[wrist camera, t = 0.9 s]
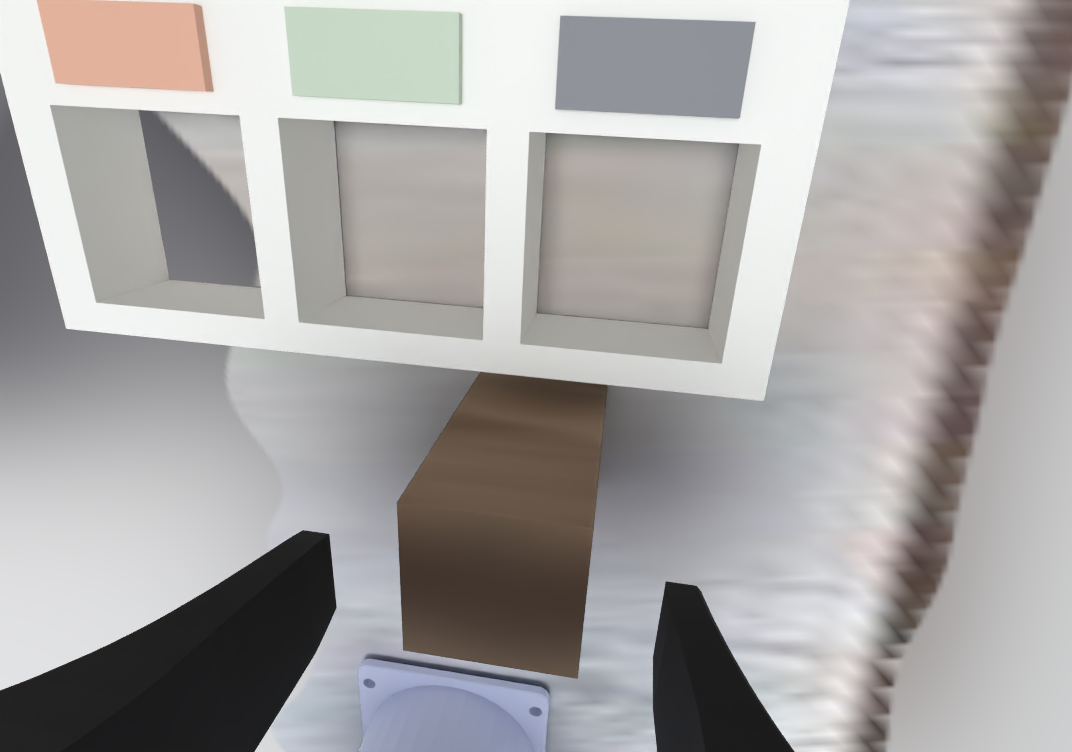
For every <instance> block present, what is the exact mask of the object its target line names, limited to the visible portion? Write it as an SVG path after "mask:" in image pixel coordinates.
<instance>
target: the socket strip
mask: <svg viewBox="0 0 1072 752" xmlns="http://www.w3.org/2000/svg"><path fill="white" fill-rule="evenodd" d="M849 1H850V0H0V73H1V77H2V81H3V85H4V88H5V92H6V96H7V100H8V104H9V108H10V112H11V115H12V119H13V123H14V127H15V131H16V135H17V139H18V143H19V147H20V150H21V154H22V158H23V162H24V166H25V170H26V173H27V178H28V182H29V185H30V189H31V193H32V197H33V201H34V205H35V209H36V213H37V216H38V220H39V224H40V228H41V232H42V236H43V240H44V244H45V248H46V252H47V255H48V259H49V263H50V267H51V271H52V275H53V279H54V282H55V286H56V290H57V294H58V298H59V302H60V305H61V310H62V314H63V317H64V321H65V325H66V328H67V329H76V330H85V331H95V332H104V333H114V334H124V335H133V336H143V337H153V338H162V339H172V340H182V341H192V342H201V343H211V344H220V345H229V346H239V347H249V348H258V349H268V350H277V351H287V352H297V353H306V354H316V355H326V356H335V357H345V358H354V359H364V360H374V361H383V362H393V363H402V364H412V365H422V366H431V367H441V368H450V369H460V370H470V371H479V372H489V373H499V374H508V375H518V376H527V377H537V378H547V379H556V380H566V381H575V382H585V383H595V384H604V385H614V386H624V387H633V388H643V389H652V390H662V391H672V392H681V393H691V394H700V395H710V396H720V397H729V398H739V399H749V400H758V401H764V397H765V392H766V388H767V383H768V378H769V374H770V369H771V365H772V360H773V355H774V351H775V346H776V341H777V337H778V332H779V327H780V323H781V318H782V313H783V309H784V304H785V299H786V295H787V290H788V285H789V281H790V276H791V271H792V267H793V262H794V257H795V253H796V248H797V244H798V239H799V234H800V230H801V225H802V220H803V216H804V211H805V206H806V202H807V197H808V192H809V188H810V183H811V178H812V174H813V169H814V164H815V160H816V155H817V150H818V146H819V141H820V136H821V132H822V127H823V122H824V118H825V113H826V109H827V104H828V99H829V95H830V90H831V85H832V81H833V76H834V71H835V67H836V62H837V57H838V53H839V48H840V43H841V39H842V34H843V29H844V25H845V20H846V15H847V11H848V6H849ZM139 110H151V111H169V112H187V113H204V114H222V115H239V116H240V124H241V132H242V140H243V148H244V156H245V164H246V172H247V180H248V188H249V196H250V204H251V212H252V220H253V228H254V236H255V244H256V252H257V260H258V268H259V276H260V284H261V288H256V287H245V286H234V285H223V284H213V283H202V282H190V281H180V280H170V279H169V274H168V268H167V262H166V257H165V251H164V246H163V241H162V235H161V230H160V224H159V219H158V213H157V208H156V203H155V197H154V191H153V186H152V181H151V175H150V170H149V164H148V159H147V153H146V148H145V143H144V137H143V132H142V126H141V120H140V115H139ZM334 121H348V122H366V123H383V124H401V125H419V126H437V127H455V128H473V129H487V155H486V208H485V262H484V308H475V307H464V306H453V305H442V304H431V303H420V302H410V301H399V300H388V299H377V298H366V297H355V296H346V285H345V271H344V256H343V242H342V228H341V214H340V200H339V186H338V171H337V157H336V143H335V129H334ZM546 133H562V134H580V135H598V136H616V137H634V138H652V139H670V140H688V141H706V142H724V143H739V147H738V153H737V159H736V165H735V171H734V177H733V183H732V188H731V194H730V200H729V206H728V212H727V218H726V224H725V230H724V236H723V242H722V248H721V254H720V260H719V266H718V272H717V278H716V284H715V290H714V296H713V302H712V308H711V314H710V320H709V326H708V329H705V328H694V327H683V326H672V325H661V324H650V323H639V322H628V321H617V320H607V319H596V318H585V317H574V316H563V315H552V314H541V313H537V296H538V277H539V259H540V240H541V221H542V203H543V184H544V165H545V147H546Z"/></svg>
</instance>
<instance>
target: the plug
mask: <svg viewBox="0 0 1072 752" xmlns="http://www.w3.org/2000/svg"><path fill="white" fill-rule="evenodd" d="M606 396H607V385H604V384H595V383H585V382H575V381H566V380H556V379H547V378H537V377H527V376H518V375H508V374H499V373H489V372H480V373H479V375H478V377H477V378H476V380H475V381H474V383H473V384H472V386H471V388H470V389H469V391H468V392H467V394H466V395H465V397H464V399H463V400H462V402H461V403H460V405H459V406H458V408H457V409H456V411H455V413H454V414H453V416H452V417H451V419H450V420H449V422H448V424H447V425H446V427H445V428H444V430H443V431H442V433H441V434H440V436H439V438H438V439H437V441H436V442H435V444H434V445H433V447H432V449H431V450H430V452H429V453H428V455H427V456H426V458H425V459H424V461H423V463H422V464H421V466H420V467H419V469H418V470H417V472H416V474H415V475H414V477H413V478H412V480H411V481H410V483H409V484H408V486H407V488H406V489H405V491H404V492H403V494H402V495H401V497H400V499H399V500H398V502H397V516H398V539H399V562H400V585H401V608H402V631H403V650H404V651H411V652H417V653H423V654H429V655H435V656H441V657H448V658H454V659H460V660H466V661H472V662H478V663H485V664H491V665H497V666H503V667H509V668H515V669H522V670H528V671H534V672H540V673H546V674H552V675H558V676H565V677H571V678H577V679H578V670H579V661H580V651H581V642H582V633H583V623H584V614H585V604H586V595H587V585H588V576H589V566H590V557H591V547H592V538H593V529H594V518H595V508H596V498H597V488H598V477H599V467H600V457H601V447H602V437H603V426H604V416H605V406H606Z"/></svg>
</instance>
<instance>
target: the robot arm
mask: <svg viewBox="0 0 1072 752" xmlns="http://www.w3.org/2000/svg"><path fill="white" fill-rule="evenodd" d="M335 610H336V598H335V588H334V578H333V568H332V558H331V547H330V537H329V534H325V533H318V532H311V531H304V530H303V531H301V532H299V533H297V534H296V535H294V536H292V537H291V538H289V539H288V540H286V541H285V542H283V543H281V544H280V545H278V546H277V547H275V548H274V549H272V550H271V551H269V552H268V553H266V554H264V555H263V556H261V557H260V558H258V559H257V560H255V561H254V562H252V563H251V564H249V565H248V566H246V567H244V568H243V569H241V570H240V571H238V572H236V573H235V574H233V575H232V576H230V577H229V578H227V579H225V580H224V581H222V582H221V583H219V584H218V585H216V586H214V587H213V588H211V589H209V590H208V591H206V592H204V593H203V594H201V595H199V596H197V597H196V598H194V599H192V600H191V601H189V602H187V603H186V604H184V605H182V606H180V607H179V608H177V609H176V610H174V611H172V612H171V613H168V614H167V615H165V616H163V617H161V618H160V619H158V620H156V621H154V622H152V623H150V624H148V625H147V626H145V627H143V628H141V629H139V630H137V631H135V632H133V633H131V634H129V635H127V636H125V637H123V638H121V639H119V640H117V641H115V642H113V643H111V644H109V645H107V646H105V647H103V648H101V649H98V650H96V651H94V652H92V653H90V654H87V655H85V656H83V657H80V658H78V659H76V660H74V661H71V662H69V663H67V664H65V665H62V666H60V667H57V668H55V669H53V670H50V671H48V672H46V673H43V674H41V675H39V676H37V677H34V678H32V679H29V680H26V681H24V682H21V683H19V684H16V685H14V686H11V687H9V688H6V689H3V690H0V752H254V751H255V750H256V748H257V746H258V745H259V743H260V742H261V740H262V738H263V737H264V735H265V734H266V732H267V731H268V729H269V727H270V726H271V724H272V723H273V721H274V719H275V718H276V716H277V715H278V713H279V711H280V710H281V708H282V707H283V705H284V703H285V702H286V700H287V699H288V697H289V695H290V694H291V692H292V691H293V689H294V687H295V686H296V684H297V682H298V681H299V679H300V678H301V676H302V674H303V673H304V671H305V669H306V668H307V666H308V665H309V663H310V661H311V660H312V658H313V656H314V655H315V653H316V651H317V649H318V647H319V645H320V643H321V641H322V638H323V636H324V634H325V632H326V630H327V628H328V625H329V623H330V621H331V619H332V616H333V614H334V612H335ZM358 682H359V694H360V706H361V718H362V730H363V741H362V743H361V746H360V748H359V750H358V752H545V747H546V735H547V723H548V711H549V699H550V697H549V693H548V692H547V690H545V689H544V688H542V687H539V686H534V685H528V684H522V683H516V682H510V681H504V680H498V679H492V678H485V677H479V676H473V675H467V674H461V673H455V672H449V671H443V670H437V669H431V668H425V667H419V666H413V665H406V664H400V663H394V662H388V661H382V660H376V659H365V660H363V661H362V662H361V664H360V666H359V668H358ZM536 707H537V708H536ZM653 713H654V724H655V734H656V744H657V752H794V750H793V749H792V748H791V746H790V745H789V743H788V742H787V741H786V739H785V738H784V736H783V735H782V733H781V732H780V731H779V729H778V728H777V726H776V725H775V723H774V722H773V720H772V719H771V717H770V716H769V714H768V713H767V711H766V710H765V708H764V706H763V705H762V703H761V702H760V700H759V699H758V697H757V696H756V694H755V692H754V691H753V689H752V687H751V686H750V684H749V683H748V681H747V679H746V677H745V676H744V674H743V672H742V670H741V669H740V667H739V665H738V664H737V662H736V660H735V658H734V657H733V655H732V653H731V651H730V649H729V648H728V646H727V644H726V642H725V640H724V638H723V636H722V634H721V632H720V631H719V629H718V627H717V625H716V623H715V621H714V619H713V617H712V614H711V612H710V610H709V608H708V606H707V604H706V601H705V599H704V597H703V595H702V592H701V591H700V589H699V588H698V587H697V586H694V585H687V584H680V583H673V582H666V584H665V590H664V596H663V601H662V607H661V613H660V619H659V625H658V631H657V637H656V643H655V649H654V655H653Z"/></svg>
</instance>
